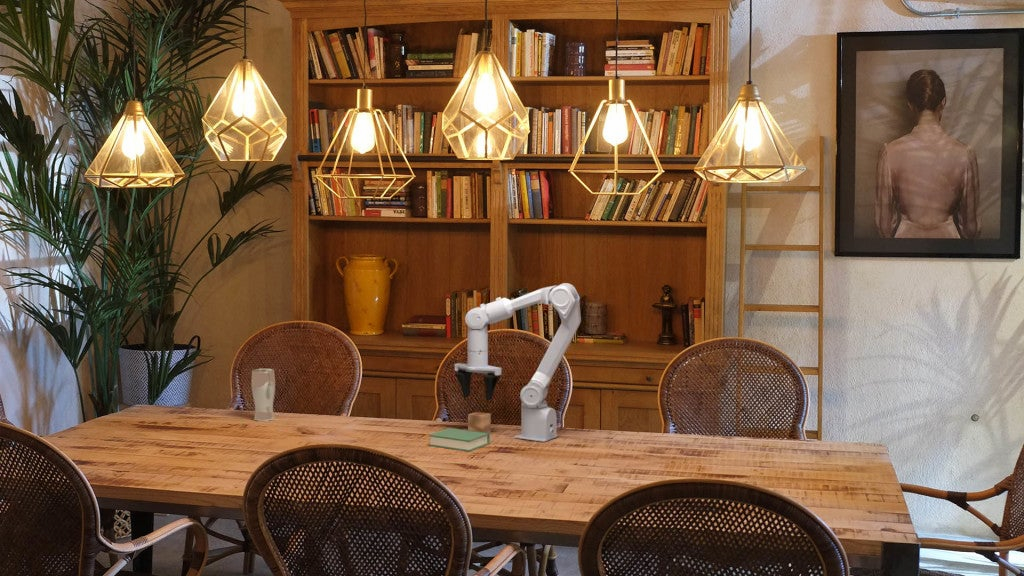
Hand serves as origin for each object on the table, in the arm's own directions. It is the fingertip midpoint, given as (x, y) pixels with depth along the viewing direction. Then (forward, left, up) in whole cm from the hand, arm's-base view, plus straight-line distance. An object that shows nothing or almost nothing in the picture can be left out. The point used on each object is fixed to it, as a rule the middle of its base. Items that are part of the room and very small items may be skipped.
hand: (477, 398), depth 295 cm
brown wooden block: (0, 0, -10) cm, 11 cm away
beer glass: (+67, +16, -11) cm, 69 cm away
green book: (-2, +13, -10) cm, 17 cm away
